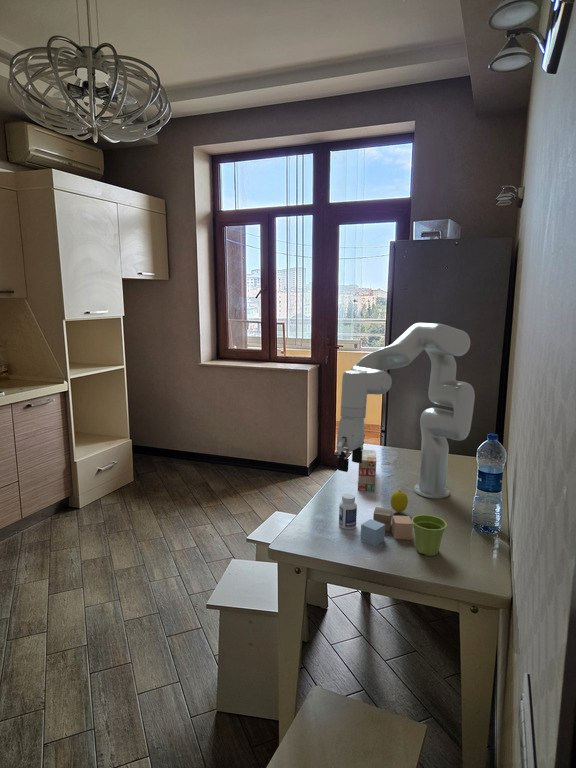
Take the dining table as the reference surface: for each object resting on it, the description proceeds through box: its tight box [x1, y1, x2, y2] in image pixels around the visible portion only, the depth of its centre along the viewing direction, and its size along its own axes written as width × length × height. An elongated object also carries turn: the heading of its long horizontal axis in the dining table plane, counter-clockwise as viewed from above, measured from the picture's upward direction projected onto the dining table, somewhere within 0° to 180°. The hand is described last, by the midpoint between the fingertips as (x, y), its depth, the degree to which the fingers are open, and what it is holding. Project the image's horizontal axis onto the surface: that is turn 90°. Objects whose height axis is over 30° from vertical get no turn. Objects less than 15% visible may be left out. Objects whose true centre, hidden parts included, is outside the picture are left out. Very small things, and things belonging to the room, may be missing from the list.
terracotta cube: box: [391, 515, 414, 540], centre depth 141 cm, size 5×5×5 cm
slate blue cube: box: [360, 518, 386, 547], centre depth 138 cm, size 5×5×5 cm
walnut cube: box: [372, 506, 393, 532], centre depth 147 cm, size 5×5×5 cm
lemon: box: [390, 489, 409, 514], centre depth 156 cm, size 6×6×8 cm
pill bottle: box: [338, 493, 358, 530], centre depth 146 cm, size 5×5×10 cm
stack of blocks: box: [357, 449, 377, 493], centre depth 183 cm, size 21×6×12 cm, turn 171°
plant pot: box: [411, 514, 448, 557], centre depth 132 cm, size 9×9×9 cm
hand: (349, 466), depth 144 cm, fingers open, 9 cm apart
